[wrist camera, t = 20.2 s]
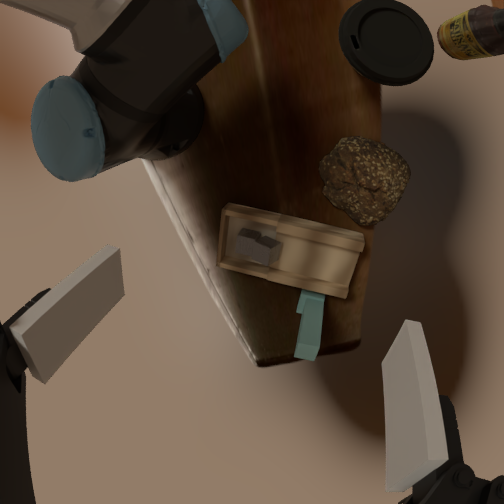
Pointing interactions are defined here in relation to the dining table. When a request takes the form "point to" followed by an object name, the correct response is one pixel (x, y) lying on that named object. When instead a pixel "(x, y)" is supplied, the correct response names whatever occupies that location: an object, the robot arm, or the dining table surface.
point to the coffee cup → (386, 42)
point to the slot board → (292, 250)
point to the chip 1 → (246, 241)
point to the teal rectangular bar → (309, 324)
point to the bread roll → (364, 179)
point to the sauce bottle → (473, 33)
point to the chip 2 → (266, 250)
